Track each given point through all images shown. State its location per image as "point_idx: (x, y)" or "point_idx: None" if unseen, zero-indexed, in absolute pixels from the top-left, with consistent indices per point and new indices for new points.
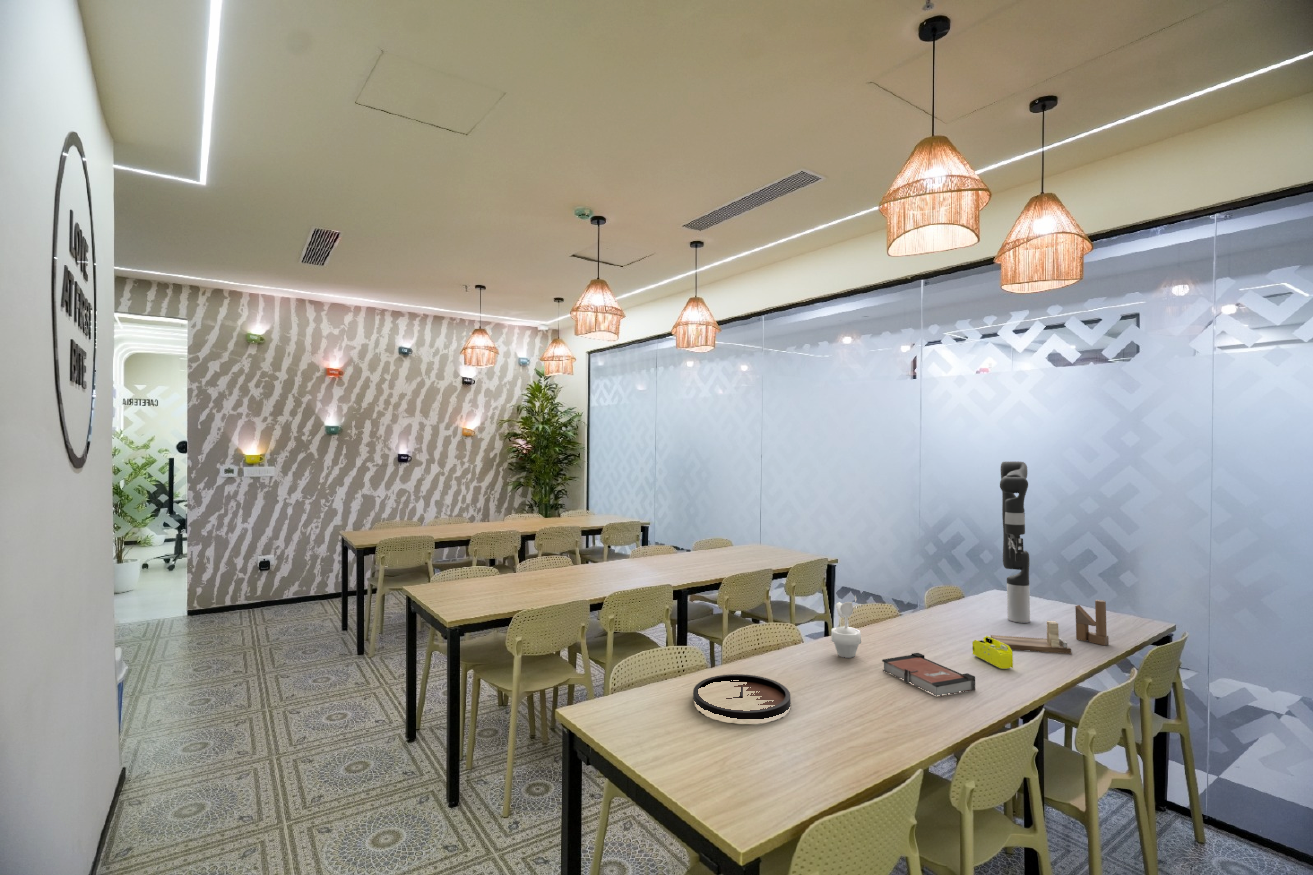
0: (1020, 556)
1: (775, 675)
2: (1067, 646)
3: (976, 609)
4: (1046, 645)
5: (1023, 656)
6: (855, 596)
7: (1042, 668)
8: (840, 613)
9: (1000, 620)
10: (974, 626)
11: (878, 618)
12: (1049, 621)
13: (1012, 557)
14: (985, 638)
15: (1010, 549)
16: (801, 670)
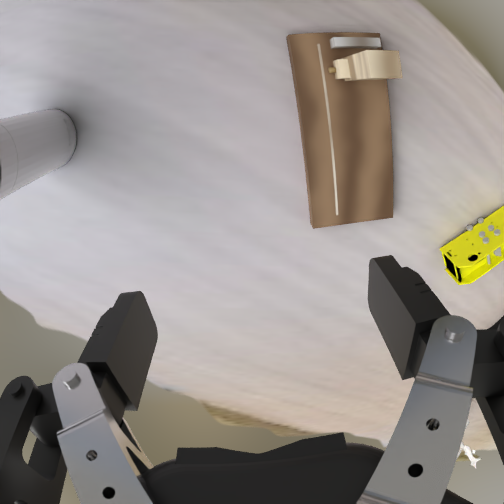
0: (438, 305)
1: (483, 420)
2: (360, 35)
3: (10, 244)
4: (372, 90)
5: (431, 163)
6: (474, 466)
7: (490, 144)
8: (459, 454)
9: (75, 187)
10: (179, 256)
11: (217, 415)
12: (376, 70)
13: (147, 324)
14: (464, 264)
15: (119, 412)
16: (476, 414)
